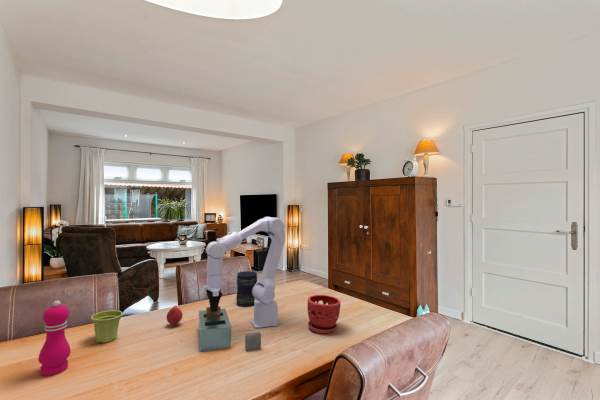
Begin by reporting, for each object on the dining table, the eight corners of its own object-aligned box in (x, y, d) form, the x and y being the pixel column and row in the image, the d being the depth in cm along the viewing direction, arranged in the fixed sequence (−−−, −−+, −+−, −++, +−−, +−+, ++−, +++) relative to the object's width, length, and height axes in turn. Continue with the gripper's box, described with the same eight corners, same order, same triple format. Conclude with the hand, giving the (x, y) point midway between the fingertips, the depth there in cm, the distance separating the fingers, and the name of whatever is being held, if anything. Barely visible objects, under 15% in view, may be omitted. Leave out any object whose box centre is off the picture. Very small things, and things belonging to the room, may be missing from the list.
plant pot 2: (317, 338, 112) (318, 306, 112) (301, 325, 124) (301, 296, 124) (346, 332, 118) (347, 301, 118) (328, 320, 130) (328, 292, 130)
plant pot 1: (117, 331, 114) (118, 308, 114) (124, 339, 107) (125, 315, 107) (87, 338, 107) (88, 314, 108) (93, 348, 101) (94, 322, 101)
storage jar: (254, 307, 143) (255, 276, 144) (234, 307, 144) (234, 275, 144) (257, 301, 153) (258, 271, 154) (238, 300, 154) (239, 270, 154)
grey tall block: (259, 346, 105) (259, 332, 105) (260, 349, 103) (261, 334, 103) (245, 348, 103) (245, 333, 103) (246, 351, 101) (246, 336, 102)
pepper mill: (50, 363, 91) (52, 296, 91) (75, 363, 91) (78, 296, 92) (30, 377, 83) (33, 304, 84) (58, 377, 84) (61, 304, 84)
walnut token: (219, 319, 116) (220, 306, 116) (220, 321, 114) (220, 308, 114) (206, 320, 114) (206, 307, 114) (206, 322, 112) (206, 309, 112)
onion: (176, 329, 117) (176, 308, 117) (163, 327, 118) (163, 307, 118) (184, 323, 123) (185, 303, 123) (172, 322, 124) (172, 302, 124)
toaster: (224, 325, 122) (225, 308, 122) (230, 347, 104) (231, 326, 104) (198, 328, 118) (199, 310, 118) (200, 351, 100) (200, 330, 100)
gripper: (202, 270, 120) (201, 304, 120) (204, 279, 106) (203, 318, 106) (221, 269, 122) (220, 303, 122) (225, 277, 109) (224, 315, 109)
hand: (213, 309), depth 114 cm, fingers closed
